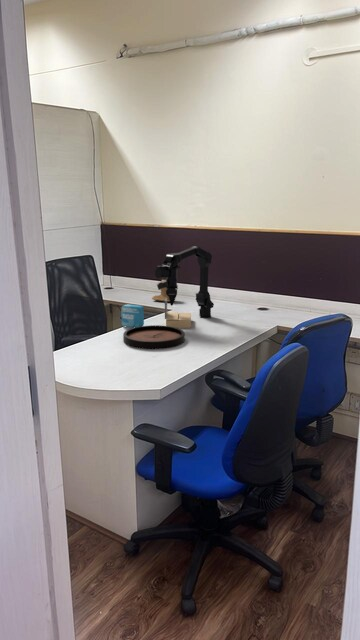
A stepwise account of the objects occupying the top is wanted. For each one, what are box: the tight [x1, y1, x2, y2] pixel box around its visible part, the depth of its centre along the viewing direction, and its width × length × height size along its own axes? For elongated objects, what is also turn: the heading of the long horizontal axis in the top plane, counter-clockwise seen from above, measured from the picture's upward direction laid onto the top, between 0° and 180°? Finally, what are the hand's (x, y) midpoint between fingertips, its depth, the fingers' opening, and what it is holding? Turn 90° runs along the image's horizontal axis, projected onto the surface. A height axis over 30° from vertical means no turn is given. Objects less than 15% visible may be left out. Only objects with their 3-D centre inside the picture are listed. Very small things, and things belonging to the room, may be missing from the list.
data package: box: [120, 303, 145, 328], centre depth 276 cm, size 12×4×12 cm, turn 69°
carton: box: [165, 312, 192, 329], centre depth 282 cm, size 14×18×5 cm
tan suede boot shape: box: [151, 279, 170, 303], centre depth 343 cm, size 15×12×15 cm
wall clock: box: [122, 324, 186, 350], centre depth 251 cm, size 31×4×31 cm
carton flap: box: [164, 298, 179, 321], centre depth 281 cm, size 7×17×10 cm, turn 179°
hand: (171, 303), depth 280 cm, fingers open, 9 cm apart
